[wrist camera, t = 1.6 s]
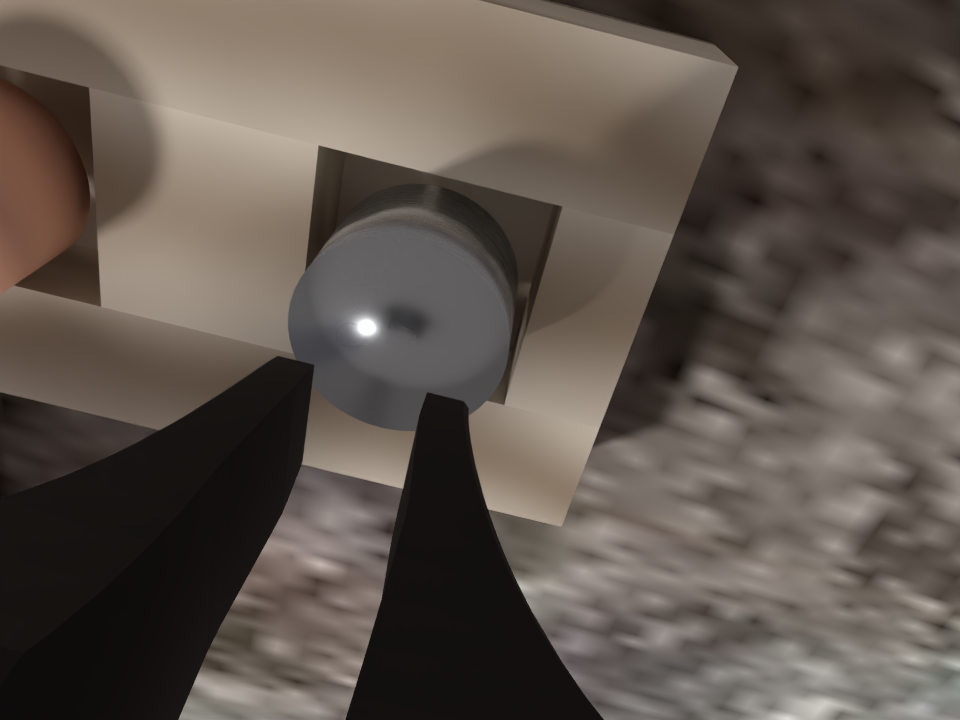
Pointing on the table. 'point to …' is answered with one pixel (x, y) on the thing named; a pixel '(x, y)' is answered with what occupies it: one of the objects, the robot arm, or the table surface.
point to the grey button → (407, 306)
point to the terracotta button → (36, 186)
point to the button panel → (352, 199)
